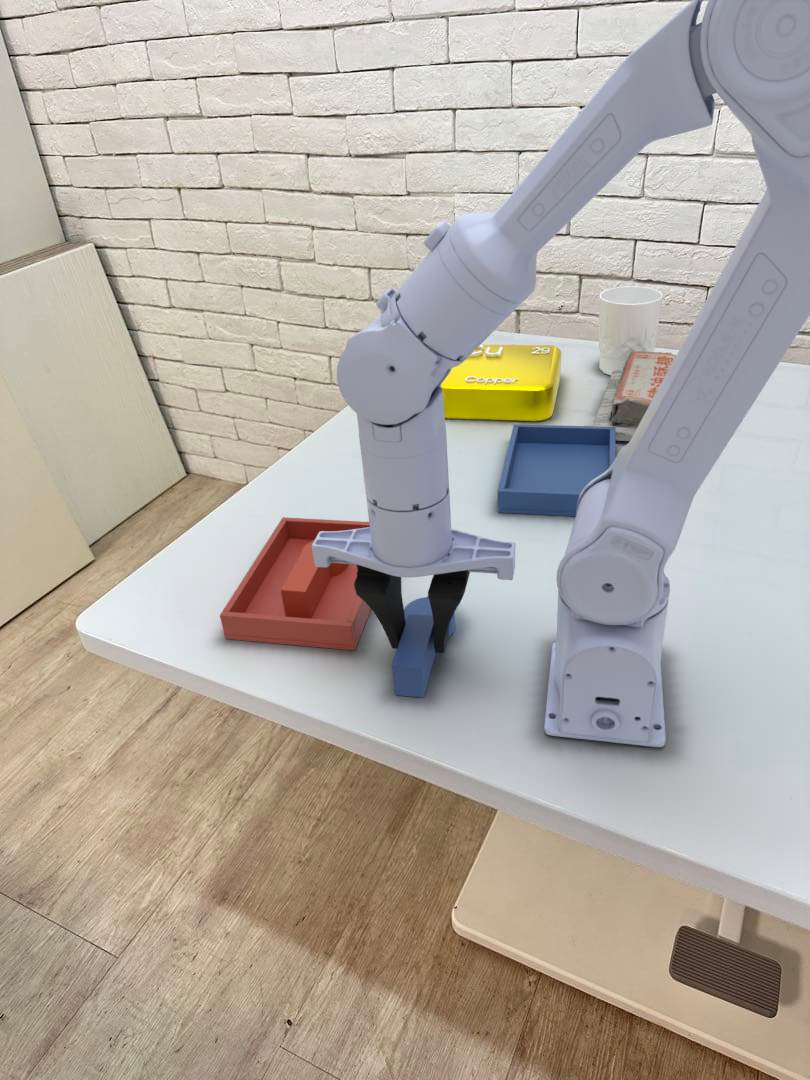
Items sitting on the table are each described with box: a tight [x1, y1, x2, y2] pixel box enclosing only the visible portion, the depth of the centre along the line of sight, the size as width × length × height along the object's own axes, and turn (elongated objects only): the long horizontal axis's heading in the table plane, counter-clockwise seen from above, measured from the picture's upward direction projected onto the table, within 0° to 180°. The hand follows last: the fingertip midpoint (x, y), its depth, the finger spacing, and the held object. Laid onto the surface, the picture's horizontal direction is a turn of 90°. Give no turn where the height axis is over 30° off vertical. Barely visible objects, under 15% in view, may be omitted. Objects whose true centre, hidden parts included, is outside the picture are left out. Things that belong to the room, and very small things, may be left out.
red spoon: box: [281, 541, 348, 619], centre depth 70 cm, size 10×4×3 cm, turn 168°
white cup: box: [598, 285, 664, 376], centre depth 105 cm, size 8×8×10 cm
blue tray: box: [497, 423, 617, 517], centre depth 84 cm, size 15×11×2 cm
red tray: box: [219, 516, 372, 651], centre depth 70 cm, size 15×11×2 cm
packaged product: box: [592, 351, 677, 442], centre depth 95 cm, size 18×5×10 cm
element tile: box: [440, 344, 562, 422], centre depth 102 cm, size 15×15×5 cm
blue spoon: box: [391, 596, 456, 699], centre depth 62 cm, size 10×4×3 cm, turn 168°
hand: (420, 642), depth 62 cm, fingers open, 3 cm apart
